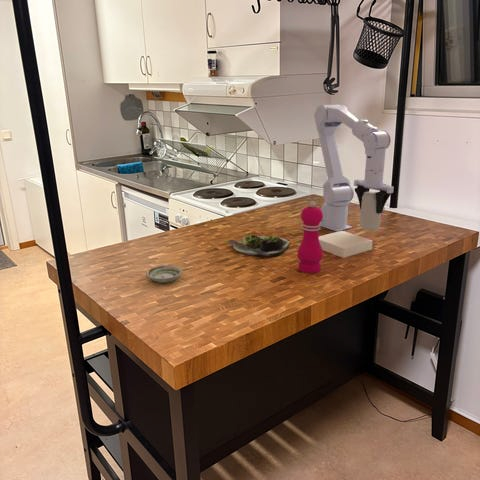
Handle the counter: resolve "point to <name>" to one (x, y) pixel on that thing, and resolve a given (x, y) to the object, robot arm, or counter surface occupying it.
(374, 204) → the beverage can
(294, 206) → the counter surface
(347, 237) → the block
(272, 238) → the salad plate
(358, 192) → the robot arm
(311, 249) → the pepper mill
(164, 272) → the saucer
